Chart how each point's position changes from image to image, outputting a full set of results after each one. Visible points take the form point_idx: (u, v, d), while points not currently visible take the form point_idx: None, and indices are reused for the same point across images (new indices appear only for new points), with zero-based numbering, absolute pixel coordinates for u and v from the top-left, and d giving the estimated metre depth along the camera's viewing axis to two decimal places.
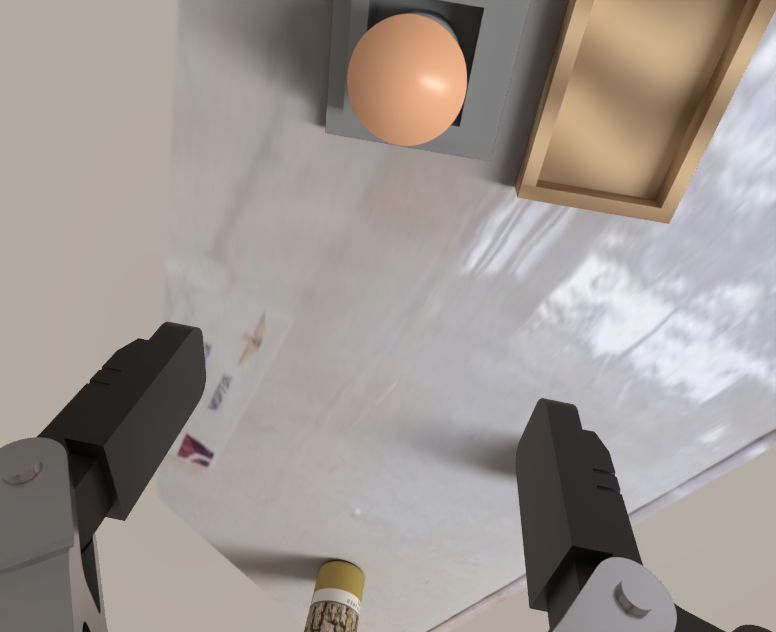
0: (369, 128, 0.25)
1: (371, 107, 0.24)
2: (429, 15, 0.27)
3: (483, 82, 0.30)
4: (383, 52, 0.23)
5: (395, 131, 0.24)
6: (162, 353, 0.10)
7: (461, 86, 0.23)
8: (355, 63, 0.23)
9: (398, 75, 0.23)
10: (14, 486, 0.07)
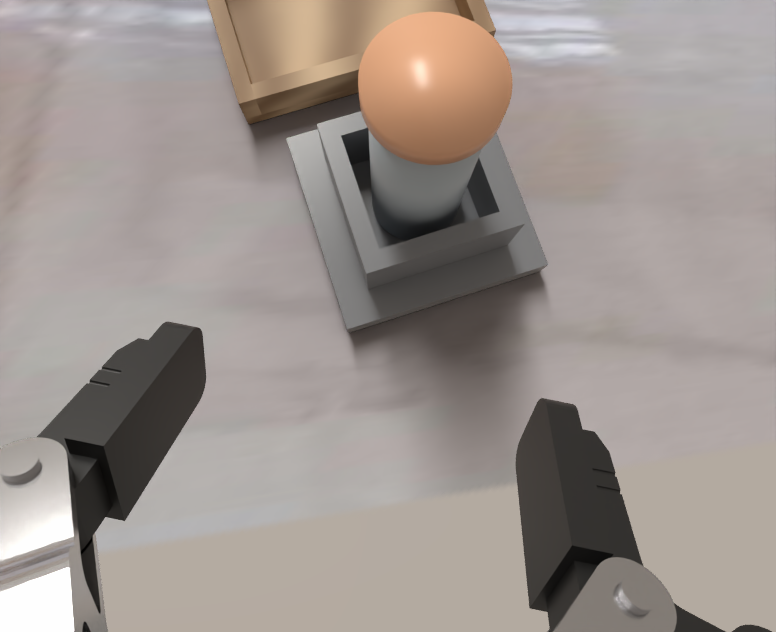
0: (507, 98, 0.18)
1: (482, 106, 0.18)
2: (371, 172, 0.24)
3: None
4: (415, 118, 0.18)
5: (493, 68, 0.18)
6: (162, 353, 0.10)
7: (405, 23, 0.18)
8: (444, 143, 0.18)
9: (430, 92, 0.18)
10: (14, 486, 0.07)
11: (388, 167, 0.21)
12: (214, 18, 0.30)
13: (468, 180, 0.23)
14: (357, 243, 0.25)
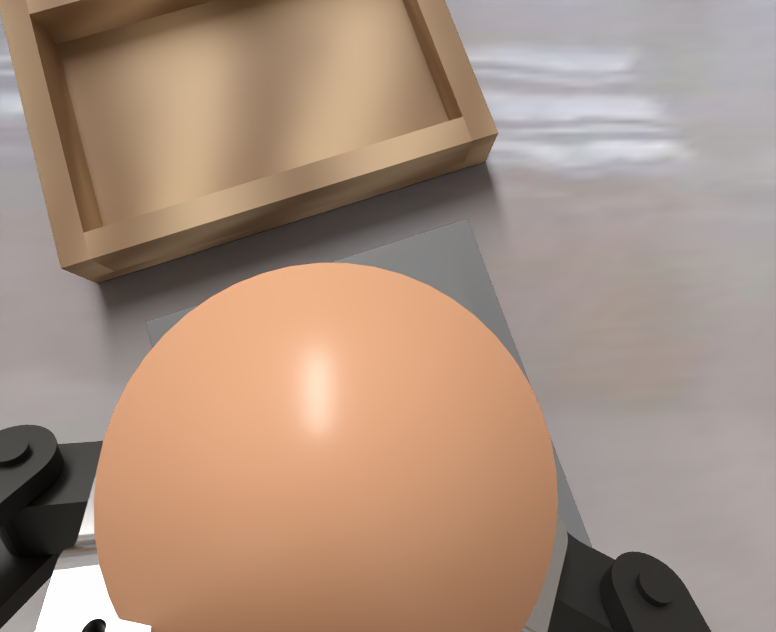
0: (544, 547, 0.06)
1: (467, 576, 0.06)
2: None
3: None
4: (262, 624, 0.06)
5: (500, 443, 0.06)
6: None
7: (245, 299, 0.06)
8: None
9: (312, 528, 0.06)
10: None
11: None
12: (28, 118, 0.18)
13: None
14: None
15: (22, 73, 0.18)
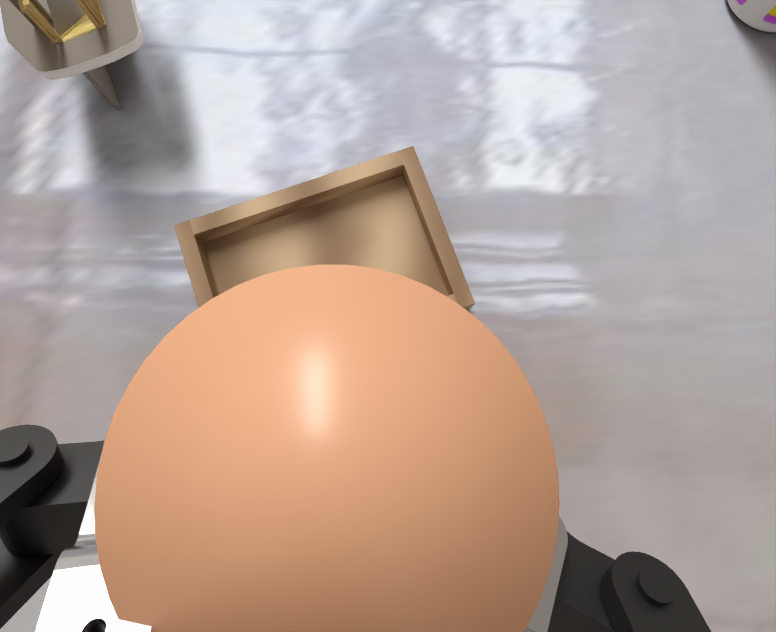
0: (545, 549, 0.06)
1: (468, 579, 0.06)
2: None
3: None
4: (262, 627, 0.06)
5: (502, 445, 0.06)
6: None
7: (246, 301, 0.06)
8: None
9: (313, 531, 0.06)
10: None
11: None
12: (198, 300, 0.30)
13: None
14: None
15: (192, 272, 0.31)
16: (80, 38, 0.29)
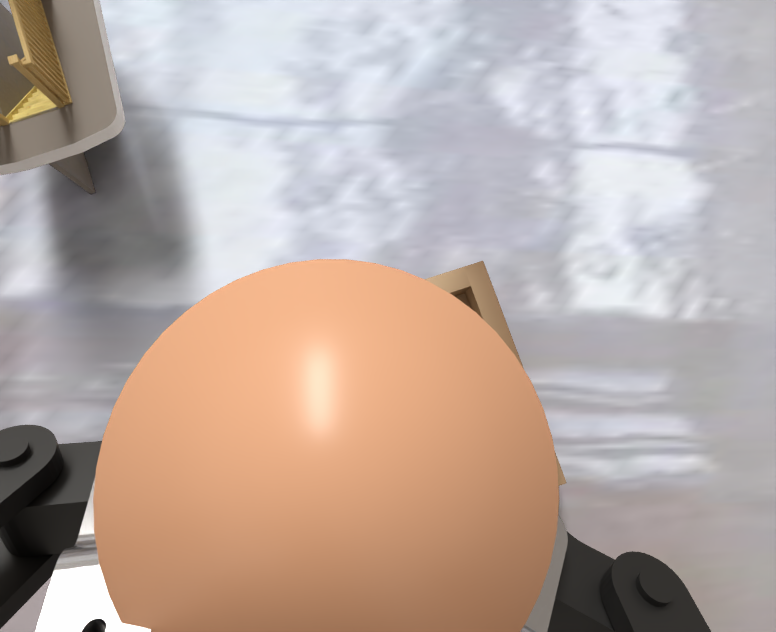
0: (545, 544, 0.06)
1: (468, 574, 0.06)
2: None
3: None
4: (261, 622, 0.06)
5: (501, 440, 0.06)
6: None
7: (245, 296, 0.06)
8: None
9: (312, 526, 0.06)
10: None
11: None
12: None
13: None
14: None
15: None
16: (34, 120, 0.20)
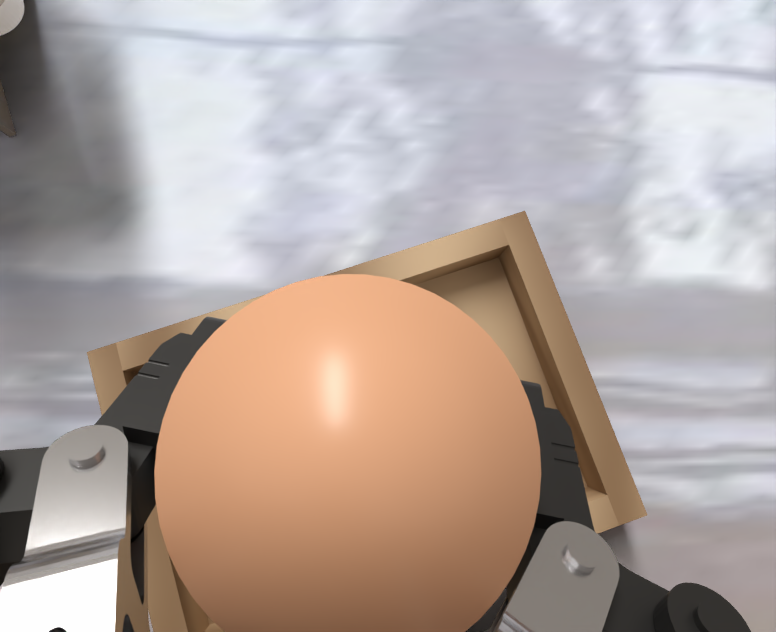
0: (529, 510, 0.07)
1: (466, 535, 0.07)
2: None
3: None
4: (295, 574, 0.07)
5: (494, 425, 0.07)
6: None
7: (281, 304, 0.08)
8: None
9: (337, 494, 0.07)
10: (81, 470, 0.08)
11: None
12: None
13: None
14: None
15: None
16: None
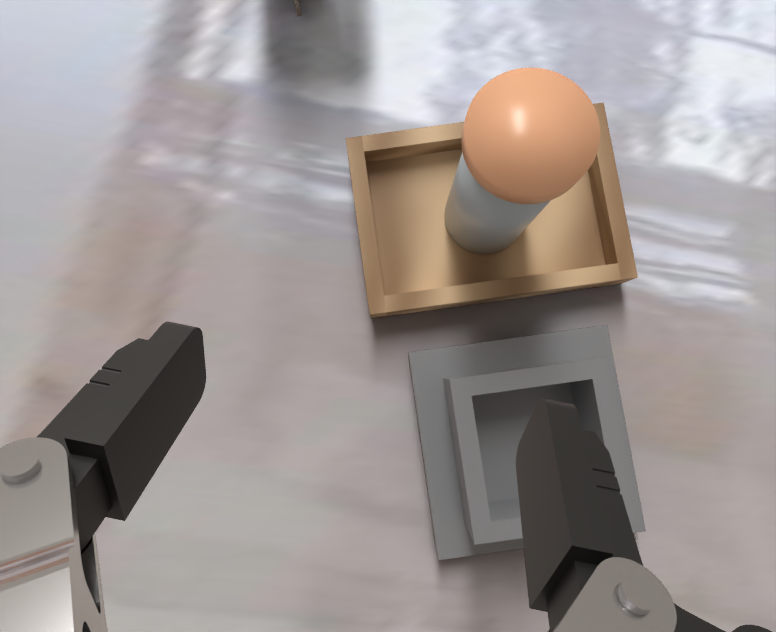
0: (591, 158, 0.20)
1: (568, 161, 0.20)
2: (452, 189, 0.27)
3: (538, 369, 0.26)
4: (508, 161, 0.20)
5: (585, 129, 0.21)
6: (162, 353, 0.10)
7: (516, 74, 0.21)
8: (528, 188, 0.20)
9: (526, 140, 0.21)
10: (14, 486, 0.07)
11: (473, 193, 0.23)
12: (358, 219, 0.30)
13: None
14: (470, 512, 0.25)
15: (357, 189, 0.30)
16: None
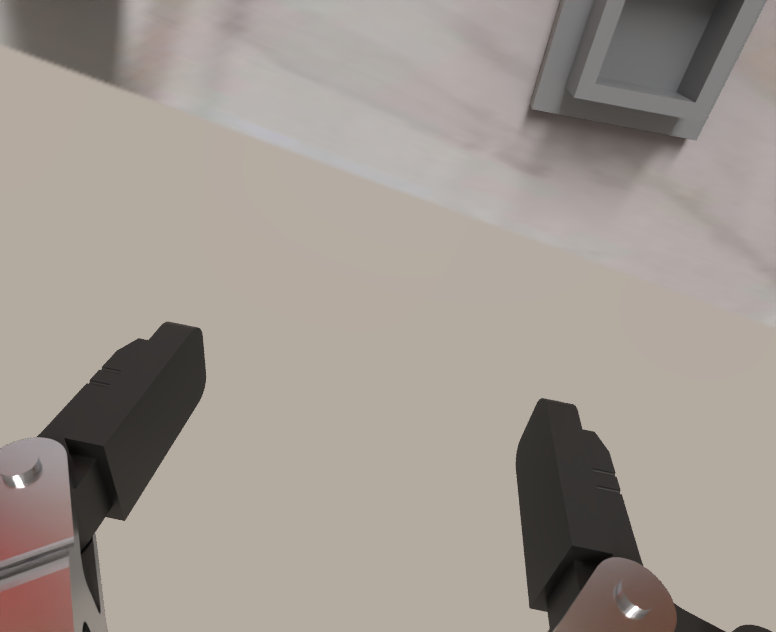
0: None
1: None
2: None
3: None
4: None
5: None
6: (162, 353, 0.10)
7: None
8: None
9: None
10: (14, 486, 0.07)
11: None
12: None
13: None
14: (584, 70, 0.31)
15: None
16: None
